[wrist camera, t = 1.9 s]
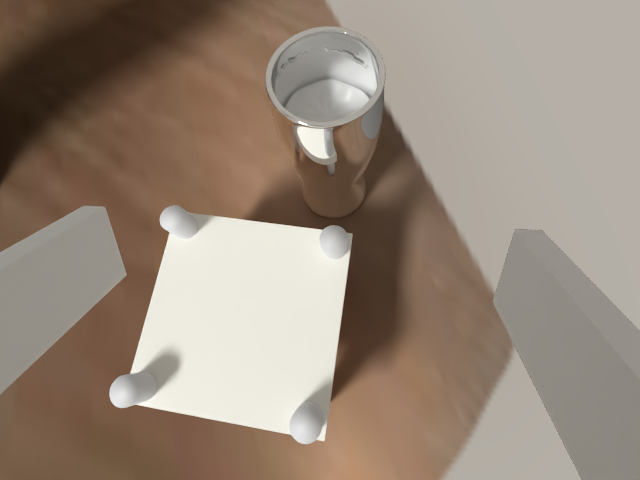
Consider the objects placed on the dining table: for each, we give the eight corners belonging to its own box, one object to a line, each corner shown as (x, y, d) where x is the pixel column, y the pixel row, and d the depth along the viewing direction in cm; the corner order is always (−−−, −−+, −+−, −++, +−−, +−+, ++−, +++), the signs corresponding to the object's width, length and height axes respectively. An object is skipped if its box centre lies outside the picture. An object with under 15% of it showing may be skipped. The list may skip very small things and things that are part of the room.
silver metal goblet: (360, 148, 34) (370, 10, 20) (379, 213, 32) (405, 112, 18) (291, 165, 34) (251, 39, 20) (305, 230, 32) (273, 143, 18)
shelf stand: (177, 386, 29) (101, 408, 20) (213, 239, 33) (161, 200, 24) (330, 414, 28) (322, 451, 19) (351, 257, 31) (353, 224, 22)
